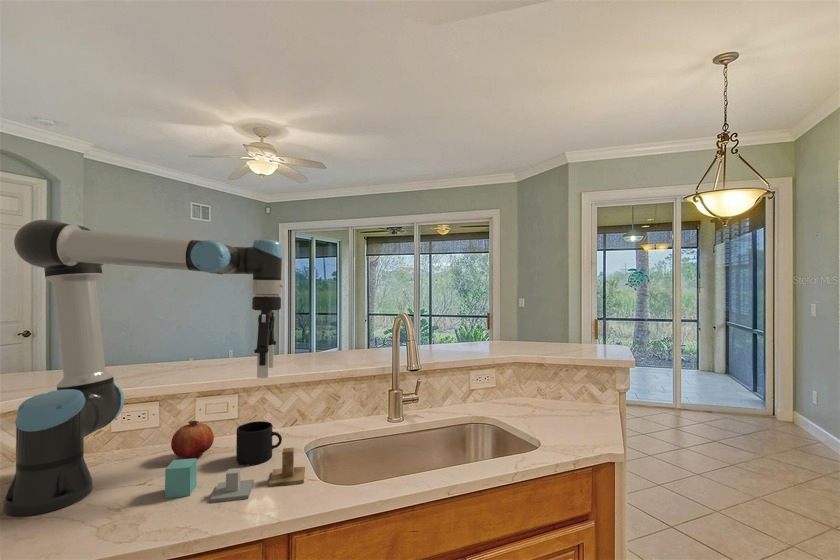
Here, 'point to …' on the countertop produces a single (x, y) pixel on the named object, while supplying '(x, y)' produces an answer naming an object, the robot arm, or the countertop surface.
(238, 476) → the grey post
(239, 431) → the mug
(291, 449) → the brown base with post
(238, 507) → the countertop surface
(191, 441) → the fruit
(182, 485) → the teal rectangular block
